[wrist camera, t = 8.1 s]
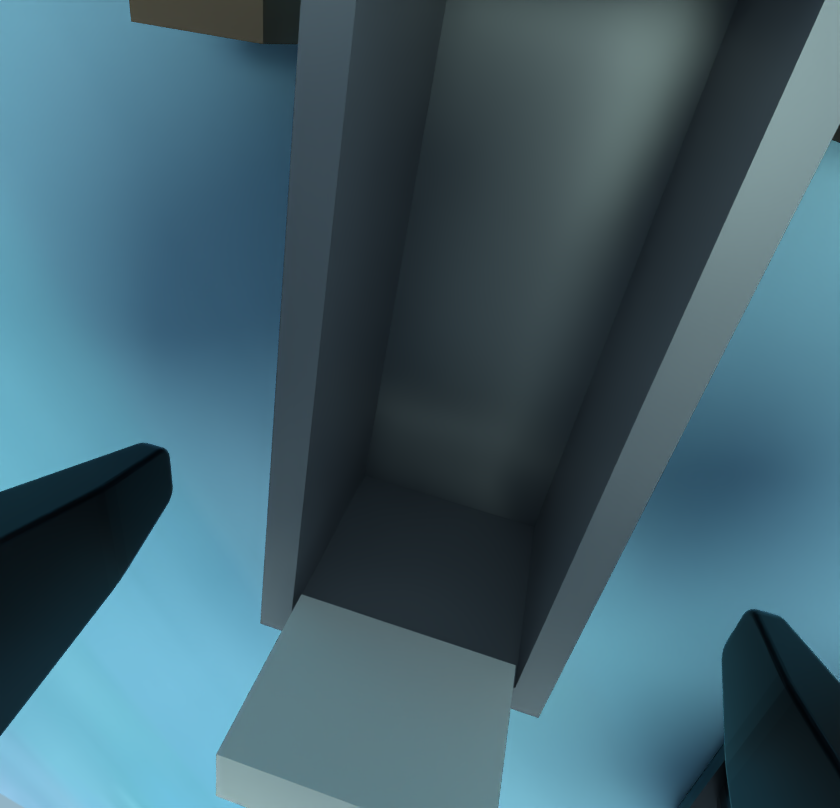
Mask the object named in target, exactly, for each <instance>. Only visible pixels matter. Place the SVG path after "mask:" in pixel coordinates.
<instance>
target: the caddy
mask: <svg viewBox="0 0 840 808" xmlns="http://www.w3.org/2000/svg"><path fill="white" fill-rule="evenodd" d="M839 124H840V0H301V6H300V21H299V37H298V52H297V68H296V83H295V98H294V114H293V129H292V145H291V160H290V175H289V191H288V206H287V222H286V237H285V252H284V268H283V283H282V299H281V314H280V329H279V345H278V360H277V376H276V391H275V406H274V422H273V437H272V453H271V468H270V483H269V499H268V514H267V530H266V545H265V560H264V576H263V591H262V607H261V622H260V623H261V624H264V625H267V626H269V627H272V628H275V629H278V630H281V631H282V632H281V634H280V636H279V637H278V639H277V641H276V643H275V645H274V647H273V649H272V651H271V652H270V654H269V656H268V658H267V660H266V662H265V664H264V666H263V667H262V669H261V671H260V673H259V675H258V677H257V679H256V681H255V683H254V684H253V686H252V688H251V690H250V692H249V694H248V696H247V698H246V699H245V701H244V703H243V705H242V707H241V709H240V711H239V713H238V714H237V716H236V718H235V720H234V722H233V724H232V726H231V728H230V729H229V731H228V733H227V735H226V737H225V739H224V741H223V743H222V745H221V746H220V748H219V750H218V752H217V754H216V796H217V797H220V798H223V799H225V800H228V801H231V802H233V803H236V804H239V805H241V806H244V807H247V808H498V804H499V796H500V788H501V780H502V772H503V764H504V756H505V748H506V740H507V732H508V724H509V716H510V708H511V709H514V710H517V711H520V712H523V713H525V714H528V715H531V716H534V717H537V718H539V716H540V714H541V712H542V710H543V708H544V706H545V704H546V702H547V700H548V698H549V696H550V694H551V692H552V690H553V688H554V686H555V684H556V682H557V680H558V678H559V676H560V674H561V672H562V670H563V668H564V666H565V664H566V662H567V660H568V658H569V656H570V655H571V653H572V651H573V649H574V647H575V645H576V643H577V641H578V639H579V637H580V635H581V633H582V631H583V629H584V627H585V625H586V623H587V621H588V619H589V617H590V615H591V613H592V611H593V609H594V607H595V605H596V603H597V601H598V599H599V597H600V595H601V593H602V591H603V589H604V587H605V586H606V584H607V582H608V580H609V578H610V576H611V574H612V572H613V570H614V568H615V566H616V564H617V562H618V560H619V558H620V556H621V554H622V552H623V550H624V548H625V546H626V544H627V542H628V540H629V538H630V536H631V534H632V532H633V530H634V528H635V526H636V524H637V522H638V520H639V519H640V517H641V515H642V513H643V511H644V509H645V507H646V505H647V503H648V501H649V499H650V497H651V495H652V493H653V491H654V489H655V487H656V485H657V483H658V481H659V479H660V477H661V475H662V473H663V471H664V469H665V467H666V465H667V463H668V461H669V459H670V457H671V455H672V453H673V451H674V450H675V448H676V446H677V444H678V442H679V440H680V438H681V436H682V434H683V432H684V430H685V428H686V426H687V424H688V422H689V420H690V418H691V416H692V414H693V412H694V410H695V408H696V406H697V404H698V402H699V400H700V398H701V396H702V394H703V392H704V390H705V388H706V386H707V384H708V383H709V381H710V379H711V377H712V375H713V373H714V371H715V369H716V367H717V365H718V363H719V361H720V359H721V357H722V355H723V353H724V351H725V349H726V347H727V345H728V343H729V341H730V339H731V337H732V335H733V333H734V331H735V329H736V327H737V325H738V323H739V321H740V319H741V317H742V315H743V314H744V312H745V310H746V308H747V306H748V304H749V302H750V300H751V298H752V296H753V294H754V292H755V290H756V288H757V286H758V284H759V282H760V280H761V278H762V276H763V274H764V272H765V270H766V268H767V266H768V264H769V262H770V260H771V258H772V256H773V254H774V252H775V250H776V248H777V246H778V245H779V243H780V241H781V239H782V237H783V235H784V233H785V231H786V229H787V227H788V225H789V223H790V221H791V219H792V217H793V215H794V213H795V211H796V209H797V207H798V205H799V203H800V201H801V199H802V197H803V195H804V193H805V191H806V189H807V187H808V185H809V183H810V181H811V179H812V178H813V176H814V174H815V172H816V170H817V168H818V166H819V164H820V162H821V160H822V158H823V156H824V154H825V152H826V150H827V148H828V146H829V144H830V142H831V140H832V138H833V136H834V134H835V132H836V130H837V128H838V126H839Z"/></svg>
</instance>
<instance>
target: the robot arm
mask: <svg viewBox="0 0 840 808" xmlns="http://www.w3.org/2000/svg"><path fill="white" fill-rule="evenodd" d="M172 490H173V485H172V475H171V465H170V456H169V453H168V451H167V450H166V449H165V448H163V447H159V446H156V445H152V444H148V443H139V444H136V445H133V446H130V447H127V448H124V449H121V450H118V451H116V452H113V453H110V454H107V455H104V456H101V457H98V458H96V459H93V460H90V461H87V462H84V463H81V464H78V465H76V466H73V467H70V468H67V469H64V470H61V471H58V472H56V473H53V474H50V475H47V476H44V477H41V478H38V479H36V480H33V481H30V482H27V483H24V484H21V485H18V486H16V487H13V488H10V489H7V490H4V491H1V492H0V736H1V735H2V733H3V732H4V731H5V729H6V728H7V727H8V726H9V724H10V723H11V722H12V720H13V719H14V718H15V716H16V715H17V714H18V713H19V711H20V710H21V709H22V707H23V706H24V705H25V704H26V702H27V701H28V700H29V698H30V697H31V696H32V694H33V693H34V692H35V691H36V689H37V688H38V687H39V685H40V684H41V683H42V681H43V680H44V679H45V678H46V676H47V675H48V674H49V672H50V671H51V670H52V669H53V667H54V666H55V665H56V663H57V662H58V661H59V659H60V658H61V657H62V656H63V654H64V653H65V652H66V650H67V649H68V648H69V647H70V645H71V644H72V643H73V641H74V640H75V639H76V637H77V636H78V635H79V634H80V632H81V631H82V630H83V628H84V627H85V626H86V624H87V623H88V622H89V621H90V619H91V618H92V617H93V615H94V614H95V613H96V612H97V610H98V609H99V608H100V606H101V605H102V604H103V602H104V601H105V600H106V599H107V597H108V596H109V595H110V593H111V592H112V591H113V589H114V588H115V587H116V585H117V584H118V583H119V581H120V580H121V578H122V577H123V575H124V574H125V572H126V571H127V569H128V568H129V566H130V564H131V563H132V561H133V560H134V558H135V556H136V555H137V553H138V551H139V550H140V548H141V547H142V545H143V543H144V542H145V540H146V538H147V537H148V535H149V534H150V532H151V530H152V529H153V527H154V525H155V524H156V522H157V521H158V519H159V517H160V516H161V514H162V512H163V511H164V509H165V508H166V506H167V504H168V503H169V501H170V498H171V495H172ZM722 684H723V715H724V744H723V746H722V747H721V749H720V750H719V751H718V753H717V754H716V755H715V757H714V758H713V760H712V761H711V762H710V764H709V765H708V767H707V768H706V769H705V771H704V772H703V774H702V775H701V776H700V778H699V779H698V781H697V782H696V783H695V785H694V786H693V787H692V789H691V790H690V792H689V793H688V794H687V796H686V797H685V799H684V800H683V801H682V803H681V804H680V806H679V807H678V808H840V682H839V681H838V680H837V679H836V678H835V677H834V676H833V674H832V673H831V672H830V671H829V670H828V669H827V668H826V667H825V665H824V664H823V663H822V662H821V661H820V660H819V659H818V657H817V656H816V655H815V654H814V653H813V652H812V651H811V649H810V648H809V647H808V646H807V645H806V644H805V643H804V641H803V640H802V639H801V638H800V637H799V636H798V635H797V633H796V632H795V631H794V630H793V629H792V628H791V627H790V625H789V624H788V623H787V622H786V621H785V620H784V619H783V618H781V617H780V616H778V615H775V614H771V613H767V612H764V611H760V610H756V609H750V610H748V611H747V612H745V614H744V615H743V616H742V618H741V620H740V621H739V623H738V624H737V626H736V628H735V629H734V631H733V632H732V634H731V636H730V637H729V639H728V640H727V642H726V644H725V646H724V649H723V653H722Z"/></svg>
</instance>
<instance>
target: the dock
mask: <svg viewBox="0 0 840 808" xmlns="http://www.w3.org/2000/svg"><path fill="white" fill-rule="evenodd" d="M129 4H130V14H131V22H137V23H143V24H149V25H155V26H161V27H166V28H172V29H178V30H184V31H190V32H196V33H201V34H207V35H213V36H219V37H225V38H231V39H236V40H242V41H248V42H254V43H260V44H298V37H299V21H300V6H301V0H129ZM832 140H834V141H837V142H839V143H840V124H839V126H838V128H837V130H836V132H835V134H834V136H833V138H832Z"/></svg>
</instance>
